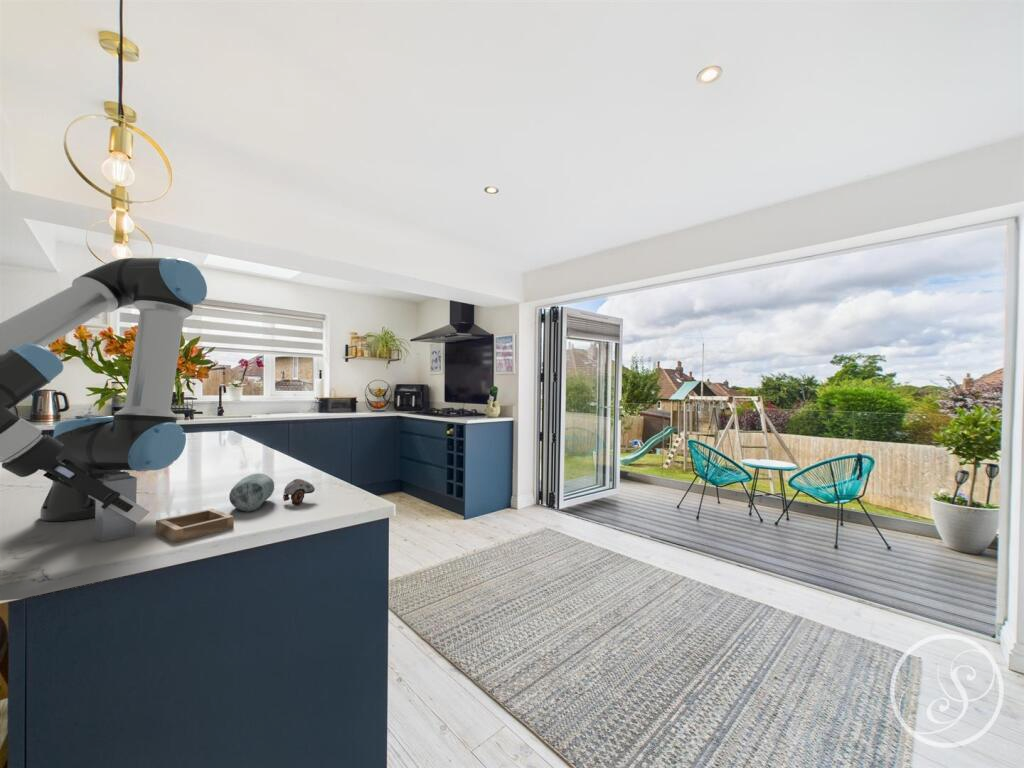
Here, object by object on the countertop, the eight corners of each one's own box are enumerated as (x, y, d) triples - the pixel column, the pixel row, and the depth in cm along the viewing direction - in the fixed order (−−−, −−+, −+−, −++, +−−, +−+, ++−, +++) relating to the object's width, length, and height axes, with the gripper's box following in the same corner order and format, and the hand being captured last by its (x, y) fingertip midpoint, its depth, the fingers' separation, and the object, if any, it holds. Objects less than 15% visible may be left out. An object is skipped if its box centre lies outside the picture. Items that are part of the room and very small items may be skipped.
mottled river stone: (268, 500, 100) (252, 464, 101) (228, 520, 97) (212, 483, 99) (288, 499, 113) (274, 467, 114) (253, 517, 110) (239, 484, 112)
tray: (155, 532, 86) (156, 520, 86) (212, 519, 95) (212, 508, 95) (175, 542, 81) (176, 530, 81) (233, 527, 90) (233, 516, 90)
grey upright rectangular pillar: (94, 537, 83) (96, 474, 83) (127, 530, 87) (128, 470, 87) (102, 542, 80) (103, 477, 81) (135, 535, 85) (136, 472, 85)
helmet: (282, 502, 109) (283, 478, 110) (313, 498, 114) (314, 475, 114) (284, 507, 105) (284, 482, 105) (316, 503, 109) (316, 479, 109)
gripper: (-13, 458, 77) (98, 517, 90) (11, 473, 65) (136, 540, 78) (31, 428, 82) (130, 489, 95) (61, 437, 69) (171, 505, 82)
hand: (133, 512), depth 86 cm, fingers open, 11 cm apart
